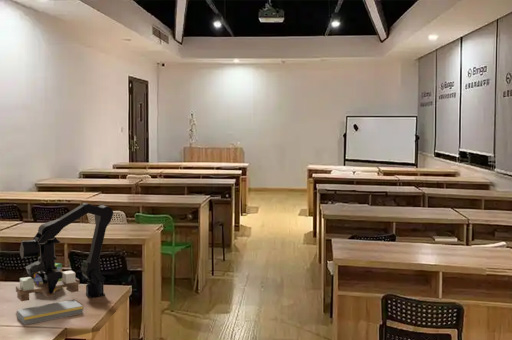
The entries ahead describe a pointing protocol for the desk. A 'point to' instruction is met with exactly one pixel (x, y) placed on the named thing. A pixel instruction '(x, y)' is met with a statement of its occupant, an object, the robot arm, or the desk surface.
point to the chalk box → (39, 281)
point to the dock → (49, 312)
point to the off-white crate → (68, 277)
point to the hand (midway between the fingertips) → (48, 291)
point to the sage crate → (26, 283)
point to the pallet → (46, 289)
